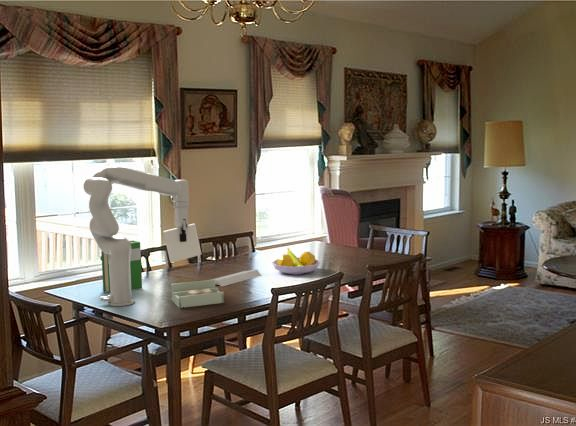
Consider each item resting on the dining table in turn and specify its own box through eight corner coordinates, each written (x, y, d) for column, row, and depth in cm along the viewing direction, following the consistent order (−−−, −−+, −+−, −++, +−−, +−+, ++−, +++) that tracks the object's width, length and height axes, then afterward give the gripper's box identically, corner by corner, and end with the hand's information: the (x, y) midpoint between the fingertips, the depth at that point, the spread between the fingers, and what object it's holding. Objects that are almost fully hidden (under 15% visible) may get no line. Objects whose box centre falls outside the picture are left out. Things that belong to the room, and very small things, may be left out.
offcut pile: (188, 306, 306) (188, 293, 305) (185, 303, 312) (185, 290, 311) (214, 303, 310) (214, 290, 310) (211, 300, 316) (210, 288, 315)
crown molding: (245, 274, 375) (245, 267, 375) (262, 276, 368) (261, 270, 367) (205, 284, 351) (205, 277, 350) (222, 287, 343) (222, 280, 343)
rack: (179, 307, 303) (178, 290, 302) (171, 300, 316) (171, 283, 315) (223, 302, 311) (223, 285, 310) (214, 295, 324) (214, 279, 323)
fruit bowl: (321, 276, 362) (320, 256, 361) (271, 277, 363) (270, 256, 361) (319, 266, 390) (319, 247, 389) (273, 267, 391) (272, 247, 389)
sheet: (170, 262, 331) (164, 231, 328) (170, 262, 333) (163, 231, 330) (201, 254, 337) (195, 223, 334) (200, 253, 339) (194, 223, 336)
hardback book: (109, 294, 331) (107, 246, 328) (103, 291, 337) (100, 244, 334) (142, 288, 342) (140, 242, 339) (135, 285, 348) (133, 240, 345)
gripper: (170, 203, 337) (171, 239, 339) (177, 206, 322) (178, 244, 325) (184, 202, 340) (185, 238, 342) (192, 205, 325) (194, 243, 327)
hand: (182, 241), depth 333 cm, fingers closed on sheet, 2 cm apart
